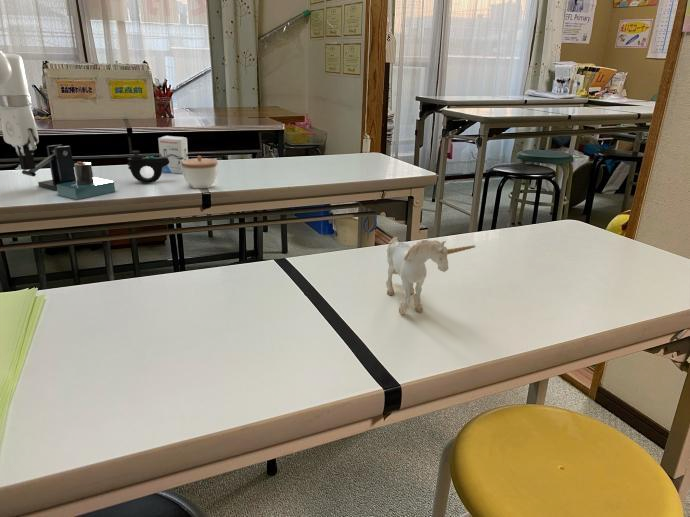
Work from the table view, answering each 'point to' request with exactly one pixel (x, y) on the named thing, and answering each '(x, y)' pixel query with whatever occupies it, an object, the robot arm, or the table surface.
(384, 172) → the table surface
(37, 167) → the lever
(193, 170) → the trinket box
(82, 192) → the dial panel
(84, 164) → the dial
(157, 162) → the black holed piece
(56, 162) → the toaster bracket
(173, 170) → the ink box
